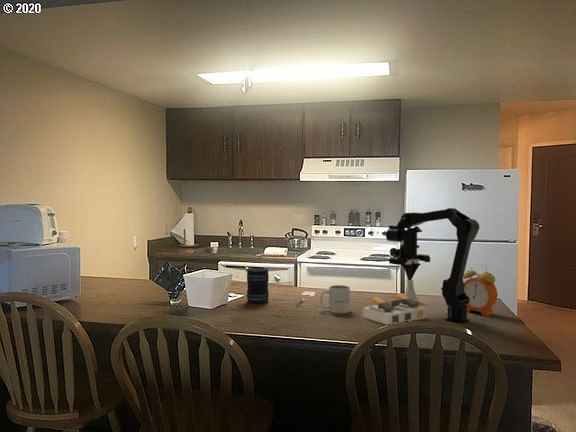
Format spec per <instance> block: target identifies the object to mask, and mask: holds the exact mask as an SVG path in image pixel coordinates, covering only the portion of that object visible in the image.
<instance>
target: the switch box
mask: <svg viewBox="0 0 576 432" xmlns="http://www.w3.org/2000/svg"><path fill="white" fill-rule="evenodd" d="M362 311H363V312H362V314H363V315H362V317H363V319H367V320H370V321H373V322H377V323H379V324H383V325H387V326H389V325H388V324H391V323H397V322H403V321H408V322H413V321H412V320H414V321H418V320H424V319H427V318H426V317H427V308H426V307H424V306H420V303H418V306H416V307H410V306H408V305H406V304H405V305H403V304H402V303H400V304H399V306H395V307H394V309H393V311H387V312H386V311H385V310H383V309H382V308H381V309H380V308H378V306H377V305H376V304H375V305H369V306H364V307H363V310H362ZM403 323H404V322H403Z"/></svg>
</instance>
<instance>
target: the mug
mask: <svg viewBox="0 0 576 432" xmlns="http://www.w3.org/2000/svg"><path fill="white" fill-rule="evenodd" d="M325 294H328V305H324V303H323V296H324V295H325ZM319 297H320V298H319V301H320V305H321V307H322V308H323V309H328V312H330V313H333V314H347V313H350V311H351V309H350V308H351V303H350V302H351V288H350V286H349V285H342V284H341V285H340V284H336V285H335V284H334V285H329V286H328V290H324V291H323V292H322V293H321V294H320V296H319Z"/></svg>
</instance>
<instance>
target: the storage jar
mask: <svg viewBox="0 0 576 432" xmlns="http://www.w3.org/2000/svg"><path fill="white" fill-rule="evenodd" d="M269 278H270V275H269V269H268V268H263V267H254V268H253V267H251V268H247V269H246V282H247V290H246V299H247V301H246V303H247V304H248V305H252V304H253V305H255V306H259V305H260V306H261V305H262V306H263V305H268V304H269V297H270V296H269V295H270V294H269Z"/></svg>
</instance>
